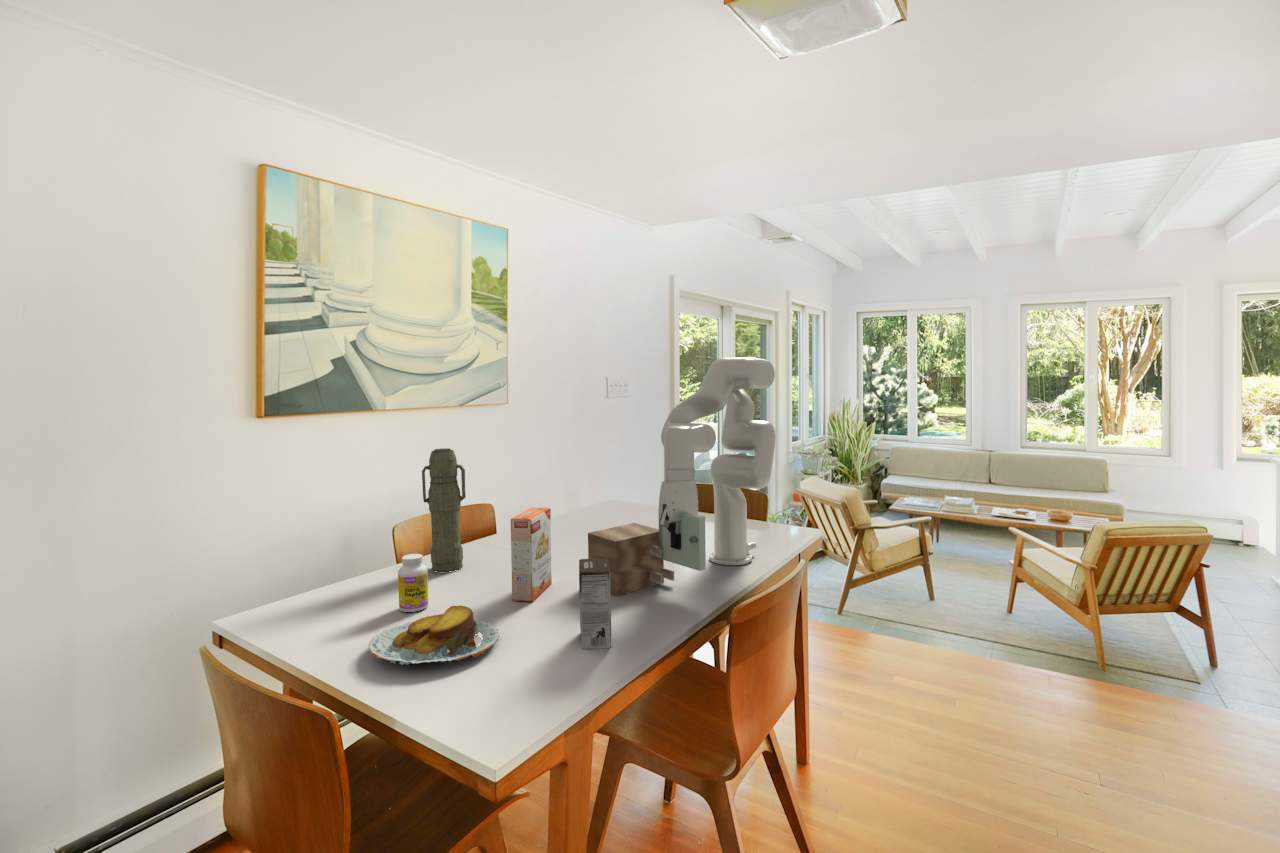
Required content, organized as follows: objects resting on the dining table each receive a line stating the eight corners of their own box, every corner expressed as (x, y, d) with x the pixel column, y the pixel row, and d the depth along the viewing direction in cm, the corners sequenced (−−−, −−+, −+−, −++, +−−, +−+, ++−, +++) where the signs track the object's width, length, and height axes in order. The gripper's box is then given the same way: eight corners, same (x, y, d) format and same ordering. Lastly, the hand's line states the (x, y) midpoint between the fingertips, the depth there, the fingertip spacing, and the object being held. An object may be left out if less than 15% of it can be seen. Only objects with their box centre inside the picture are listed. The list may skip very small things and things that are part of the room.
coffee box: (580, 631, 133) (579, 558, 131) (610, 629, 133) (609, 557, 132) (580, 649, 124) (578, 571, 122) (612, 648, 124) (610, 570, 123)
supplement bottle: (401, 615, 143) (398, 562, 142) (397, 606, 149) (395, 554, 148) (430, 610, 146) (428, 557, 145) (426, 601, 152) (424, 551, 151)
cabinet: (635, 571, 173) (634, 522, 172) (674, 585, 161) (674, 533, 160) (589, 584, 163) (587, 532, 162) (627, 600, 150) (626, 544, 149)
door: (664, 556, 161) (663, 507, 160) (706, 569, 149) (705, 516, 149) (654, 559, 159) (653, 509, 158) (696, 572, 147) (695, 518, 146)
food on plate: (363, 640, 131) (361, 610, 130) (479, 616, 143) (478, 588, 143) (380, 691, 109) (378, 655, 108) (515, 657, 121) (514, 625, 121)
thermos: (470, 570, 177) (465, 449, 174) (427, 575, 173) (421, 452, 170) (467, 561, 185) (462, 446, 182) (425, 566, 181) (420, 449, 178)
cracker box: (534, 603, 150) (531, 519, 148) (511, 601, 151) (508, 518, 150) (553, 584, 164) (551, 506, 162) (532, 582, 165) (529, 506, 163)
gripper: (691, 470, 161) (691, 539, 162) (645, 477, 151) (646, 550, 152) (712, 473, 155) (712, 544, 157) (666, 480, 145) (666, 556, 146)
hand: (679, 547), depth 154 cm, fingers closed on door, 2 cm apart
